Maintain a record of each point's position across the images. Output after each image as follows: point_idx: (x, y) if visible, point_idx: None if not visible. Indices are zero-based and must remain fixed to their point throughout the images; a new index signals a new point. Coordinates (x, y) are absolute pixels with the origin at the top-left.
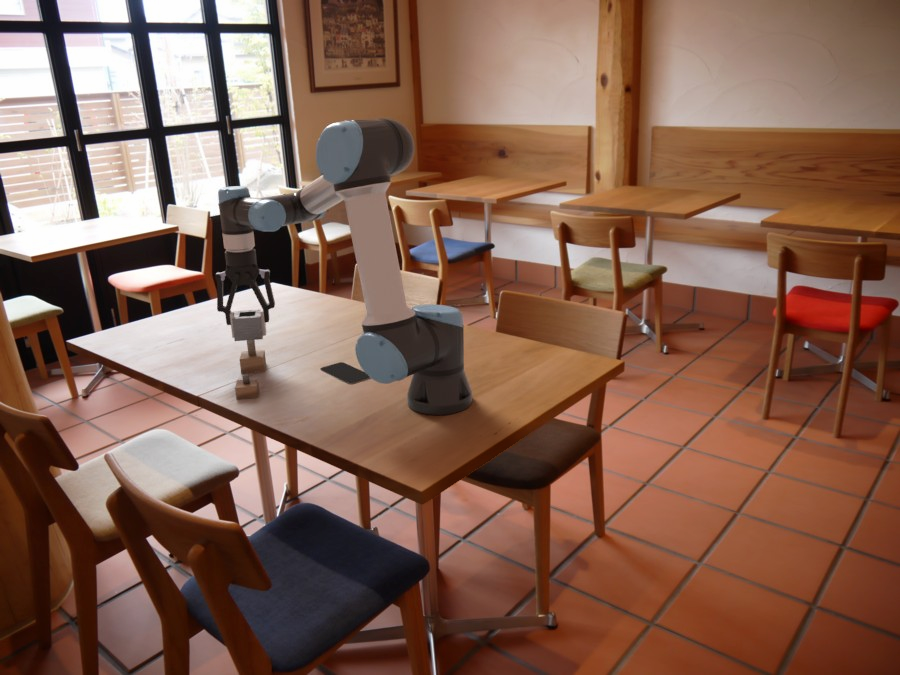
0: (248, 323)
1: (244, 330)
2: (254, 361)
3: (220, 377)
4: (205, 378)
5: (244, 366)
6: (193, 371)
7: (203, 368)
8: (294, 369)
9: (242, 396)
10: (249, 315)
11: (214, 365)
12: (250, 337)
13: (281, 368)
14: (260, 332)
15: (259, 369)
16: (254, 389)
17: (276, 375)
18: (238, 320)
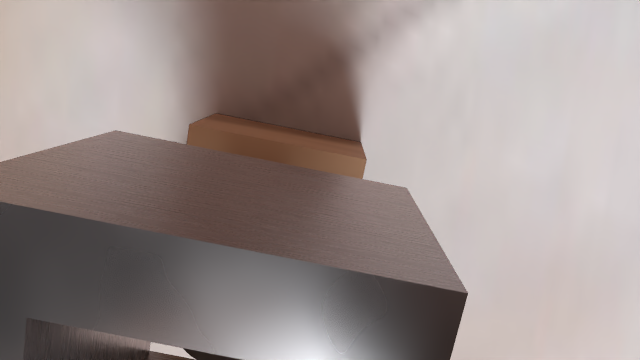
0: (192, 204)
1: (281, 192)
2: (261, 134)
3: (492, 130)
4: (582, 152)
5: (336, 143)
6: (628, 305)
7: (564, 330)
8: (29, 74)
9: None
10: None
11: (495, 353)
12: (233, 158)
13: (109, 128)
14: (94, 146)
15: (243, 122)
16: None
17: (148, 10)
18: (346, 256)
